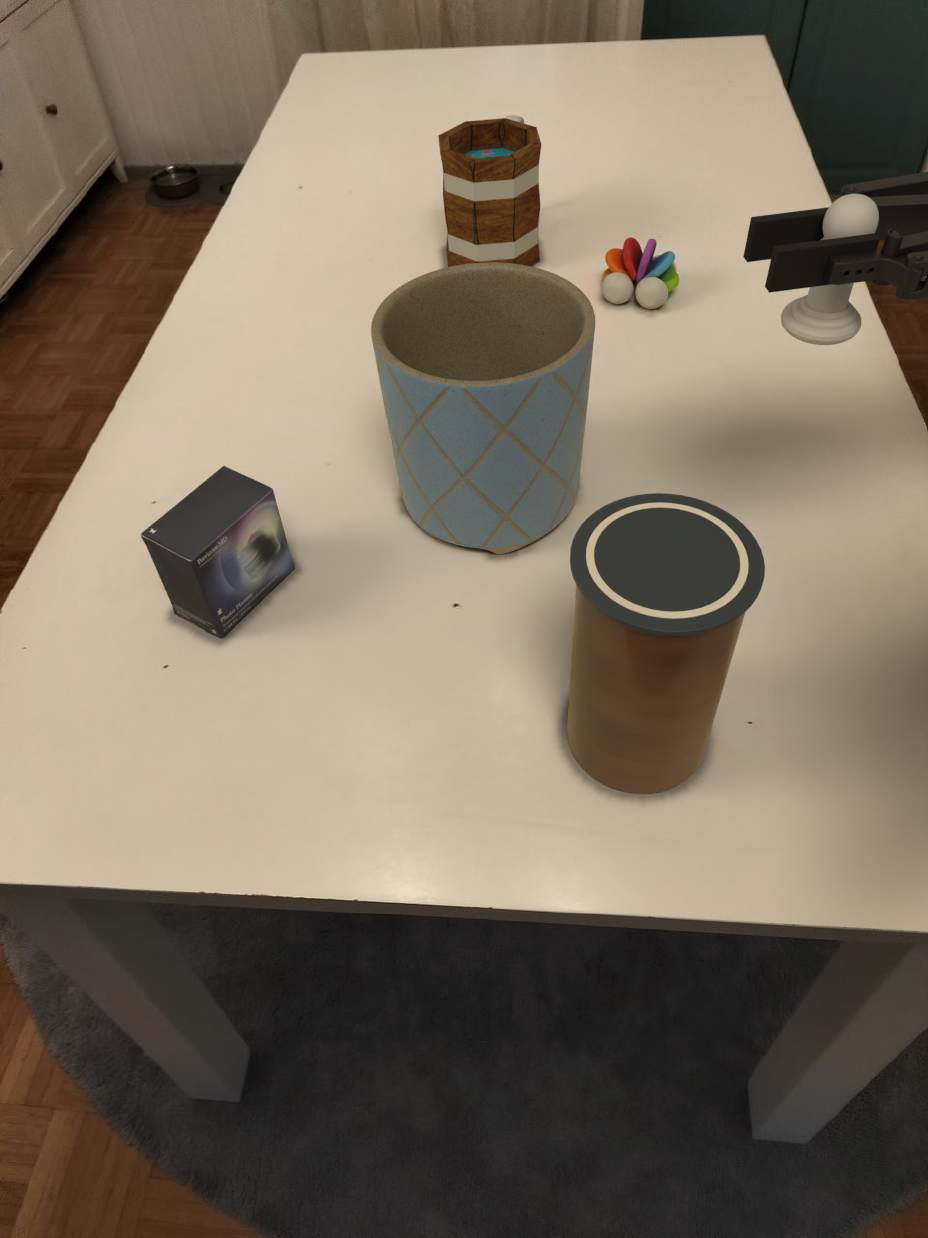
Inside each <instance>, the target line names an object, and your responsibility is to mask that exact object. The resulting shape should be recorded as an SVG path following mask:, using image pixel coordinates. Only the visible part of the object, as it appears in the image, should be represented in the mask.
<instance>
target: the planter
mask: <svg viewBox="0 0 928 1238" xmlns="http://www.w3.org/2000/svg"><path fill="white" fill-rule="evenodd" d="M370 326H371V327H370V337H371V342H372V347H373V352H374V358H375V363H376V369H377V374H378V380H379V385H380V390H381V391H380V392H381V397H382V402H383V406H384V411H385V412H384V413H385V417H386V421H387V426H388V431H389V436H390V441H391V446H392V451H393V456H394V461H395V466H396V467H395V468H396V471H397V472H396V473H397V477H398V482H399V487H400V492H401V496H402V500H403V503H404V505H405V509H406V511H407V512H408V514H409V516H410V517H411V518H412V520H413V521H414V522H415V523H416V524H417V525H418V526H419V527H420V528H421V529H422V530H423V531H425V532H426V533H428V534H430V535H431V536H433V537H435V538H437V539H439V540H441V541H444V542H447V543H448V544H449V543H450V544H452V545H457V546H461V547H466V548H472V549H480V550H486V551H489V552H491V553H494V554H496V555H505V554H508V553H512V552H514V551H517V550H520V549H521V548H524V547H526V546H528V545H529V544H533V543H534V542H535V541H537V540H539V539H541V538H542V537H543V536H545V535H547V534H548V533H550V532H551V531H552V530H554V529H555V528H556V527H557V526H559V525H560V524H561V523H562V522H563V520H565V518H566V517H567V516H568V514H569V513H570V512H571V510H572V509H573V506H574V504H575V502H576V498H577V497H578V496H577V495H578V491H579V485H580V477H581V469H582V458H583V448H584V441H585V439H584V438H585V430H586V421H587V411H588V403H589V395H590V383H591V373H592V363H593V353H594V344H595V343H594V342H595V333H596V332H595V331H596V314H595V310H594V307H593V304H592V303H591V301H590V299H589V298H588V296H587V295H586V294H585V293H584V292H583V291H582V290H581V289H580V288H579V287H578V286H576V285H575V284H574V283H573V282H571V281H569V280H568V279H566V278H564V277H562V276H560V275H559V274H556V273H553V272H552V271H548V270H545V269H542V268H539V267H535V266H532V267H531V266H526V265H520V264H512V263H497V262H486V263H471V264H463V265H457V266H451V267H448V266H447V267H443V268H440V269H436V270H433V271H430V272H427V273H424V274H422V275H419V276H417V277H415V278H413V279H411V280H409V281H406V282H405V283H403V284H402V285H400V286H399V287H397V288H396V289H395V290H393V291H392V292H391V293H390V294H388V295H387V296H386V297H385V298H384V299H383V301H381V303H380V304H379V306H378V307H377V309H376V310H375V313H374V315H373V317H372V321H371V325H370Z"/></svg>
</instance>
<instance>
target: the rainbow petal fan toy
mask: <svg viewBox="0 0 928 1238" xmlns="http://www.w3.org/2000/svg"><path fill="white" fill-rule="evenodd" d="M623 241H624V242H623V245H622V248H619V247H614V248H610V249H609V250H608V251H607V252H606V254H605V256H604V257H605V259H604V260H605V263H606V265H607V267H608V268H606V269H605V270H604V271H603V273H602V275H601V277H602V278H601V279H602V280H601V281H602V285H601V290H602V295H603V297H604V298H605V299H606V301H608V302H609V303H611V304H615V305H621V304H624V303H626V302H628V301H629V300H630V299H631V298H632V297H633V294H634V295H635V298H636V301H637V303H638V304H639V305H640V306H641V307H643V308H644V309H647V310H648V309H649V310H652V309H653V310H654V309H658V308H660V307H661V306H662V305H664V304H665V303H666V301H667V300H668V296H669V293H671V292H672V291H674V290H675V289H676V288H678V286H679V284H680V276H679V273H677V271H678V270H677V265H676V263H675V261H676V254H675V252H673V251H671V250H667V251H665V252H662V253H661V254H658V255H655V252H656V248H657V244H658V243H657V240H656V239H655V238H649V239H648V240H647V242H646V245H645V246H644V250H642V247H641V244H640V242H639V241H638V240H637V239H636V238H635V237H632V236H631V237H627V238H626V239H625V240H623ZM636 283H637V284H636ZM635 285H636V287H635Z"/></svg>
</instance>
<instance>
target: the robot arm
mask: <svg viewBox="0 0 928 1238" xmlns="http://www.w3.org/2000/svg"><path fill="white" fill-rule="evenodd" d="M848 194H862V195H865V196H867V197H869V198H870V199H872V200H873V201H874V202H875V204H876V206H877V208H878V212H879V221H878V226H877V229H876V231H875V233H873V234H865V235H858V236H850V237H842V238H834V239H826V240H821V239H823V237H824V234H823V220H824V216H825V214H826V212H827V210H828V208H829V207H830V206H827V207H820V208H819V207H818V208H812V209H804V210H803V209H802V210H797V211H796V210H795V211H788V212H779V213H771V214H764V215H755V216H750V220H749V221H750V222H749V226H748V230H747V236H746V241H745V247H744V252H743V257H742V258H744V260H745V261H746V263H752V262H759V261H760V262H761V261H768V260H770V262H769V267H768V270H767V276H766V279H765V284H764V288H765V289H766V291H767V292H768V293H778V292H784V291H792V290H801V289H808V288H810V287H816V286H824V285H842V284H846V283H847V284H850V283H853V282H854V284H857V283H863V282H872V283H874V284H875V285H878V286H883V287H885V286H890V285H891V286H893V287H895V290H894V295H895V296H896V297H897V298H899V299H902V300H914V299H915V300H916V299H926V298H927V299H928V171H924V172H923V171H922V172H917V173H911V174H905V175H899V176H892V177H886V178H880V179H875V180H869V181H861V182H855V183H849V184H845V185H843V186H842V187H841V191H840V194H839V197H838V198H840V197H842V196H845V195H848ZM881 241H883V243H882V246H881V248H878V246H879V244H880V242H881ZM924 277H925V280H922V278H924Z"/></svg>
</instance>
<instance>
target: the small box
mask: <svg viewBox="0 0 928 1238" xmlns="http://www.w3.org/2000/svg"><path fill="white" fill-rule="evenodd" d="M140 538H141V540H142V541H143V543H144V546H146V549H147V551H148V553H149V556H150V558H151V560H152V563H153V565H154V567H155V570H156V572H157V574H158V576H159V579H160V581H161V583H162V586H163V589H164V591H165V592H166V595H167V597H168V599H169V601H170V604H171V606H172V611H173V613H174V615H177V616H178V617H180V618H183V619H184V620H186V621H188V622H190V623H192V624H194V625H195V626H197V627H198V628H200V629H203V630H204V631H205V632H206V633H208V634H211V635H213V636H215V637H216V638H219V639H222V638H223V637H225V636H226V635H227V634H228V633H229V632H230V631H231V630H232V629H233V628H234V627H235V626H236V625H237V624H238V623H239V622H240V621H242V620H243V619H244V617H246V616H247V615H248V614H249V613H250V612H251V611H252V610H253V609H254V608H255V607H256V606H257V605H258V604H259V603H261V602H262V600H263V599H264V598H266V597H267V595H269V594H270V592H272V591H273V590H274V589H275V588H276V587H277V586H278V585H279V584H280V583H281V582H282V581H284V579H285V578H287V577H288V576H289V575H290V573H292V572H293V571H294V570H295V569H296V568H295V563H294V561H293V556H292V554H291V550H290V547H289V543H288V539H287V536H286V532H285V529H284V525H283V522H282V518H281V514H280V510H279V507H278V502H277V500H276V495H275V492H274V489H273V488H272V487H271V486H269V485H267V484H264V483H263V482H260V481H258V480H257V479H254V478H252V477H249V476H247V475H246V474H243V473H241V472H239V471H236V470H234V469H232V468H230V467H227V466H225V465H222V466H221V467H220V468H219V469H217V471H215V472H214V473H213V474H212V475H210V476H209V477H207V479H206V480H205V481H203V482H202V483H201V484H200V485H198V486H197V487H196V488H195V489H193V490H192V491H191V492H190V493H188V494H187V495H186V496H185V497H184V498H182V499H181V500H180V501H179V502H178V503H176V504H175V505H174V506H172V508H170V509H169V510H167V511H166V512H165V513H164V514H163V515H161V516H160V517H159V518H158V519H157V520H156V521H154V522H153V523H152V524H151V525H149V526H148V527H147V528H146V529H145V530H143V531H142V532H141V533H140Z"/></svg>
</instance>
